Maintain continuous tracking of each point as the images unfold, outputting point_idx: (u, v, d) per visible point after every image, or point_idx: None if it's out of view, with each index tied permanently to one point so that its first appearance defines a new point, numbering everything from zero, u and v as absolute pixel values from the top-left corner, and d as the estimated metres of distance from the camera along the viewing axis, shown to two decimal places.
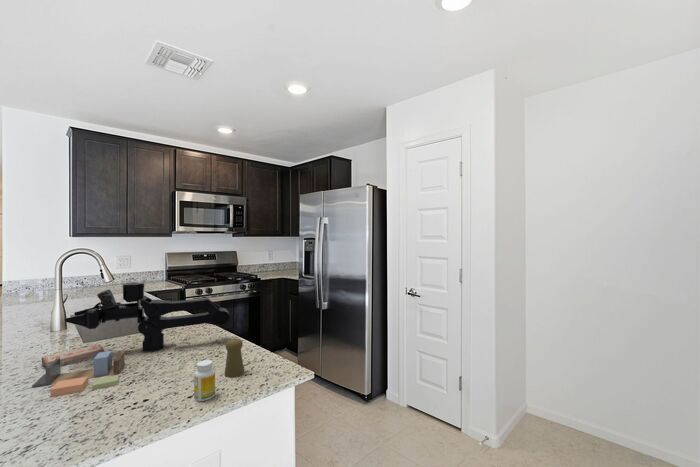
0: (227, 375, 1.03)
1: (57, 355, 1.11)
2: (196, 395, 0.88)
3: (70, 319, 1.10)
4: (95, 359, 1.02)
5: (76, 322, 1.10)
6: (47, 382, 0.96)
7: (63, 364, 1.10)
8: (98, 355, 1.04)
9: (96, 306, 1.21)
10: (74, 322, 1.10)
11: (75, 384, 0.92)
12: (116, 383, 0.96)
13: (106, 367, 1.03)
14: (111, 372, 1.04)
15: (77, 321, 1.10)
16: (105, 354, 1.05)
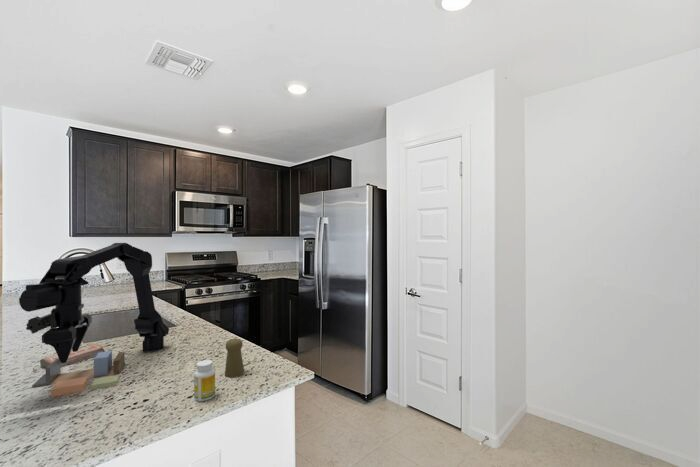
0: (227, 375, 1.03)
1: None
2: (196, 395, 0.88)
3: (62, 358, 0.88)
4: (95, 359, 1.02)
5: (66, 351, 0.88)
6: (47, 382, 0.96)
7: (67, 364, 1.10)
8: (98, 355, 1.04)
9: None
10: (66, 353, 0.89)
11: (76, 384, 0.92)
12: (115, 383, 0.95)
13: (106, 367, 1.03)
14: (111, 372, 1.04)
15: (64, 350, 0.88)
16: (105, 354, 1.05)
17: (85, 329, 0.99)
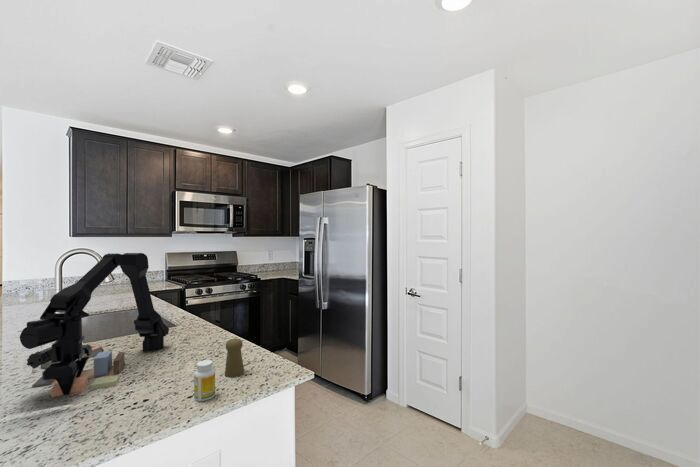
0: (227, 375, 1.03)
1: None
2: (196, 395, 0.88)
3: (64, 390, 0.90)
4: (95, 359, 1.02)
5: (69, 384, 0.90)
6: (47, 382, 0.96)
7: None
8: (98, 355, 1.04)
9: None
10: (69, 385, 0.90)
11: (76, 384, 0.92)
12: (114, 384, 0.95)
13: (106, 367, 1.03)
14: (111, 372, 1.04)
15: (67, 383, 0.90)
16: (105, 354, 1.05)
17: (84, 362, 0.97)
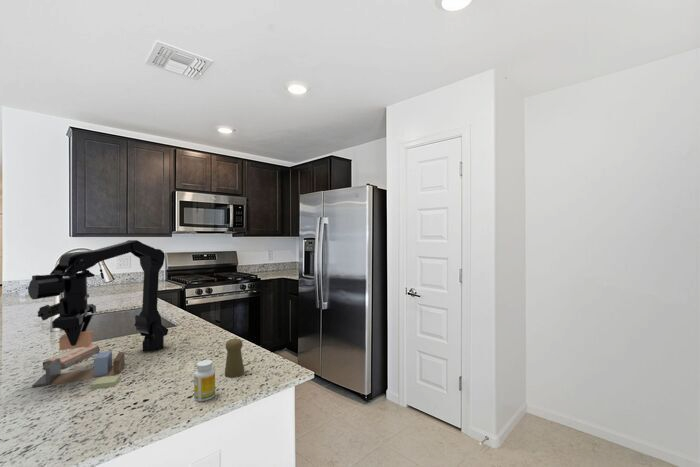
0: (227, 375, 1.03)
1: (61, 356, 1.10)
2: (196, 395, 0.88)
3: (71, 341, 0.99)
4: (95, 359, 1.02)
5: (75, 335, 0.99)
6: (47, 382, 0.96)
7: (74, 362, 1.11)
8: (98, 355, 1.04)
9: None
10: (76, 336, 0.99)
11: (82, 335, 1.01)
12: (113, 384, 0.95)
13: (106, 367, 1.03)
14: (111, 372, 1.04)
15: (74, 334, 0.98)
16: (105, 354, 1.05)
17: (89, 319, 1.06)
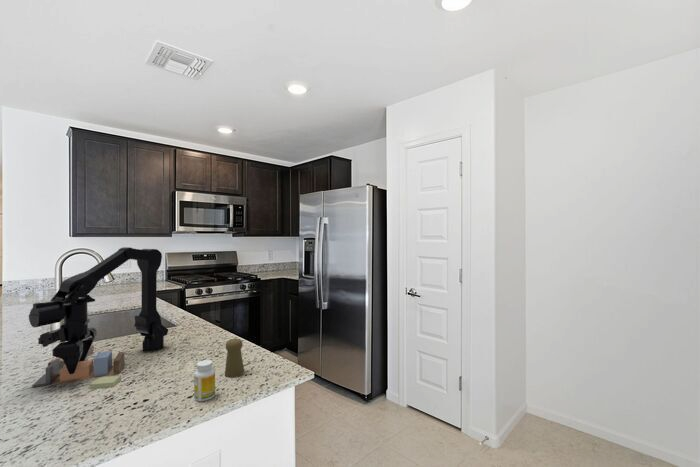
0: (227, 375, 1.03)
1: None
2: (196, 395, 0.88)
3: (70, 369, 0.97)
4: (95, 359, 1.02)
5: (74, 363, 0.97)
6: (47, 382, 0.96)
7: None
8: (98, 355, 1.04)
9: None
10: (74, 365, 0.98)
11: (82, 366, 1.01)
12: (111, 385, 0.95)
13: (106, 367, 1.03)
14: (111, 372, 1.04)
15: (73, 362, 0.97)
16: (105, 354, 1.05)
17: (91, 342, 1.08)
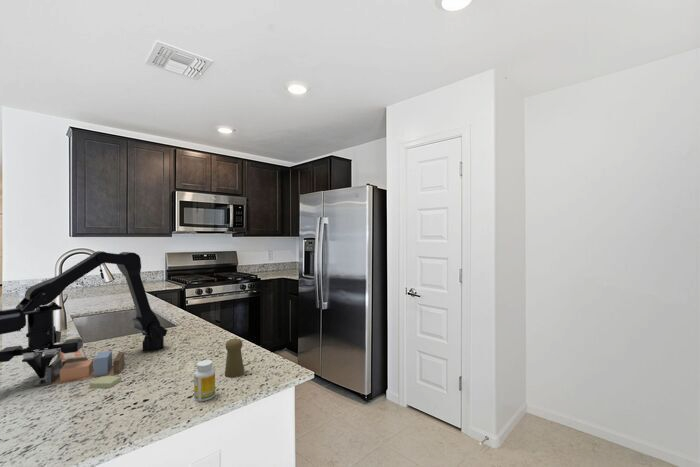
0: (227, 375, 1.03)
1: (72, 355, 1.11)
2: (196, 395, 0.88)
3: None
4: (95, 359, 1.02)
5: None
6: (48, 382, 0.96)
7: None
8: (98, 355, 1.04)
9: None
10: None
11: (82, 366, 1.01)
12: (109, 386, 0.94)
13: (106, 367, 1.03)
14: (111, 372, 1.04)
15: None
16: (105, 354, 1.05)
17: None
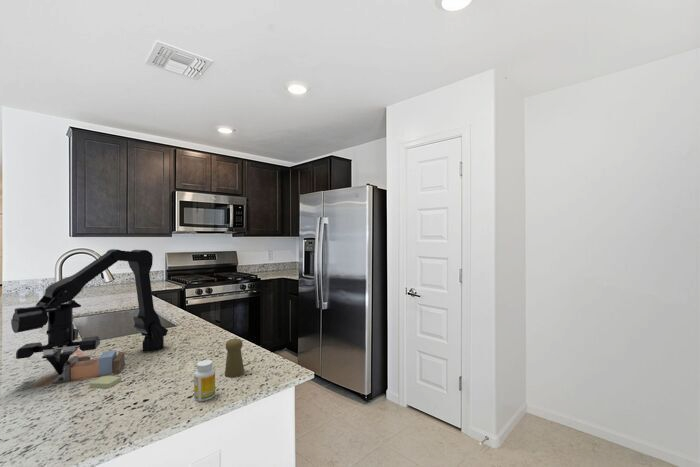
0: (227, 375, 1.03)
1: (74, 354, 1.12)
2: (196, 395, 0.88)
3: None
4: (100, 358, 1.02)
5: None
6: (66, 379, 0.98)
7: None
8: (103, 354, 1.05)
9: None
10: None
11: (92, 364, 1.02)
12: (108, 386, 0.94)
13: (111, 366, 1.03)
14: None
15: None
16: (110, 353, 1.06)
17: None
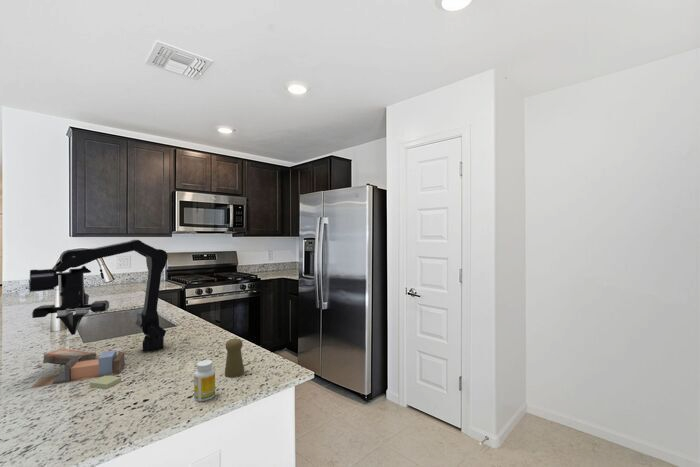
0: (227, 375, 1.03)
1: (79, 353, 1.13)
2: (196, 395, 0.88)
3: None
4: (100, 358, 1.02)
5: None
6: (66, 379, 0.98)
7: None
8: (103, 354, 1.05)
9: None
10: None
11: (93, 364, 1.02)
12: (106, 387, 0.93)
13: (111, 366, 1.03)
14: None
15: None
16: (110, 353, 1.06)
17: None
